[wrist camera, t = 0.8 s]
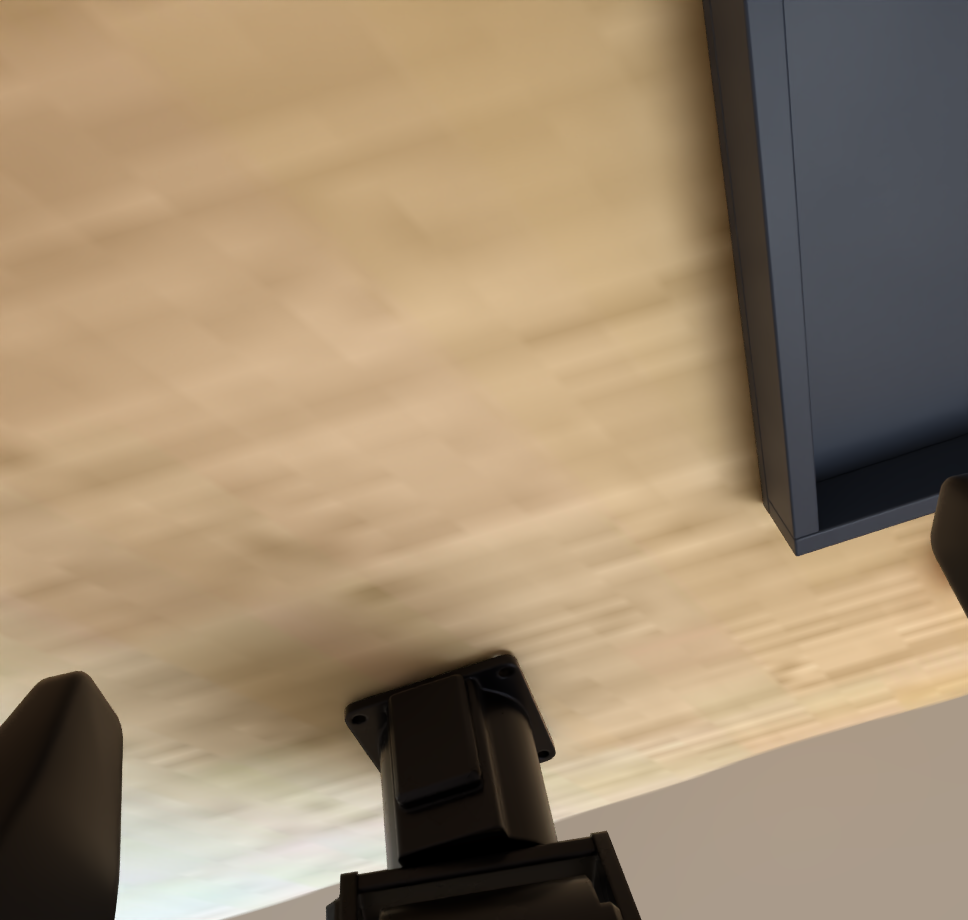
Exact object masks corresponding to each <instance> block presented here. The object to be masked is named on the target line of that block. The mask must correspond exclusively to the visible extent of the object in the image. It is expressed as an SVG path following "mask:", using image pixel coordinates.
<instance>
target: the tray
mask: <svg viewBox="0 0 968 920" xmlns="http://www.w3.org/2000/svg"><path fill="white" fill-rule="evenodd" d="M702 1H703V9H704V18H705V26H706V34H707V42H708V50H709V59H710V67H711V75H712V83H713V92H714V100H715V108H716V116H717V125H718V133H719V141H720V149H721V158H722V166H723V174H724V182H725V191H726V199H727V207H728V215H729V224H730V232H731V240H732V248H733V257H734V265H735V273H736V281H737V290H738V298H739V306H740V314H741V323H742V331H743V339H744V347H745V356H746V364H747V372H748V380H749V389H750V397H751V405H752V413H753V422H754V430H755V438H756V446H757V455H758V463H759V471H760V479H761V487H762V496H763V504H764V506H765V508H766V510H767V511H768V513H769V514H770V516H771V517H772V519H773V520H774V522H775V524H776V525H777V527H778V528H779V530H780V532H781V533H782V535H783V536H784V538H785V540H786V541H787V543H788V544H789V546H790V548H791V549H792V551H793V552H794V554H795V555H796V556H800V555H803V554H807V553H810V552H813V551H816V550H819V549H822V548H825V547H828V546H832V545H835V544H838V543H841V542H844V541H847V540H850V539H853V538H857V537H860V536H863V535H866V534H869V533H872V532H875V531H878V530H882V529H885V528H888V527H891V526H894V525H897V524H900V523H903V522H907V521H910V520H913V519H916V518H919V517H922V516H925V515H928V514H932V513H935V511H936V507H937V502H938V498H939V493H940V489H941V486H942V484H943V483H944V481H945V480H946V479H947V478H949V477H951V476H955V475H960V474H964V473H968V0H702Z"/></svg>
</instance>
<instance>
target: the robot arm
mask: <svg viewBox="0 0 968 920" xmlns="http://www.w3.org/2000/svg"><path fill="white" fill-rule="evenodd" d="M931 546H932V550H933V553H934V555H935V557H936V560H937V561H938V563H939V565H940V567H941V569H942V571H943V573H944V575H945V576H946V578H947V580H948V582H949V584H950V586H951V588H952V590H953V591H954V593H955V595H956V597H957V599H958V601H959V603H960V605H961V606H962V608H963V610H964V612H965V614H966V616H967V618H968V473H964V474H960V475H955V476H951V477H949V478H947V479H946V480H945V481H944V483H943V484H942V486H941V489H940V493H939V498H938V502H937V507H936V511H935V516H934V520H933V525H932V529H931ZM345 722H346V725H347V726H348V727H349V729H350V730H351V732H352V733H353V735H354V736H355V737H356V739H357V740H358V742H359V743H360V745H361V746H362V747H363V749H364V750H365V752H366V753H367V755H368V756H369V757H370V759H371V760H372V762H373V763H374V765H375V766H376V767H377V769H378V770H379V772H380V773H381V783H382V797H383V812H384V826H385V841H386V855H387V870H382V871H376V872H369V873H363V874H358V871H357V872H351V873H344V874H341V876H340V895H339V898H338V899H335V901H334V902H332V903H331V904H329V905H328V906H327V907H326V920H641V918H640V915H639V912H638V910H637V907H636V904H635V902H634V899H633V897H632V894H631V892H630V889H629V886H628V884H627V881H626V879H625V876H624V873H623V871H622V868H621V866H620V863H619V861H618V858H617V855H616V853H615V850H614V847H613V845H612V842H611V840H610V837H609V835H608V832H607V831H602V832H596V833H591V835H590V837H584V838H578V839H572V840H565V841H559V842H558V841H557V836H556V832H555V828H554V823H553V819H552V815H551V810H550V806H549V802H548V797H547V793H546V789H545V785H544V780H543V776H542V772H541V767H540V763H542V762H545V761H548V760H550V759H552V758H553V757H554V756H555V754H556V752H555V747H554V743H553V740H552V738H551V736H550V734H549V731H548V729H547V727H546V725H545V722H544V720H543V718H542V715H541V713H540V711H539V709H538V706H537V704H536V702H535V700H534V697H533V695H532V693H531V690H530V688H529V686H528V684H527V681H526V679H525V677H524V675H523V672H522V670H521V668H520V665H519V663H518V661H517V659H516V658H515V657H513V656H511V655H501V656H498V657H494V658H491V659H488V660H485V661H482V662H479V663H476V664H473V665H469V666H466V667H463V668H460V669H457V670H454V671H451V672H448V673H444V674H441V675H438V676H435V677H432V678H429V679H426V680H423V681H419V682H416V683H413V684H410V685H407V686H404V687H401V688H398V689H394V690H391V691H388V692H385V693H382V694H379V695H376V696H372V697H369V698H366V699H363V700H360V701H357V702H354V703H352V704H349V705H348V706H347V707H346V709H345ZM122 760H123V734H122V728H121V724H120V721H119V719H118V717H117V715H116V713H115V712H114V711H113V709H112V708H111V706H110V705H109V703H108V702H107V700H106V699H105V697H104V696H103V694H102V693H101V691H100V690H99V689H98V687H97V686H96V684H95V683H94V681H93V680H92V678H91V677H90V676H89V675H88V674H86V673H84V672H82V671H75V672H70V673H66V674H61V675H57V676H52V677H48V678H45V679H43V680H41V681H40V682H39V683H37V684H36V685H35V686H34V687H33V689H32V690H31V691H30V692H29V693H28V694H27V696H26V697H25V698H24V699H23V700H22V702H21V703H20V704H19V705H18V706H17V708H16V709H15V710H14V711H13V712H12V713H11V715H10V716H9V717H8V718H7V719H6V721H5V722H4V723H3V724H2V725H1V726H0V920H114V919H115V911H116V903H117V894H118V885H119V870H120V842H121V801H122Z"/></svg>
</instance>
